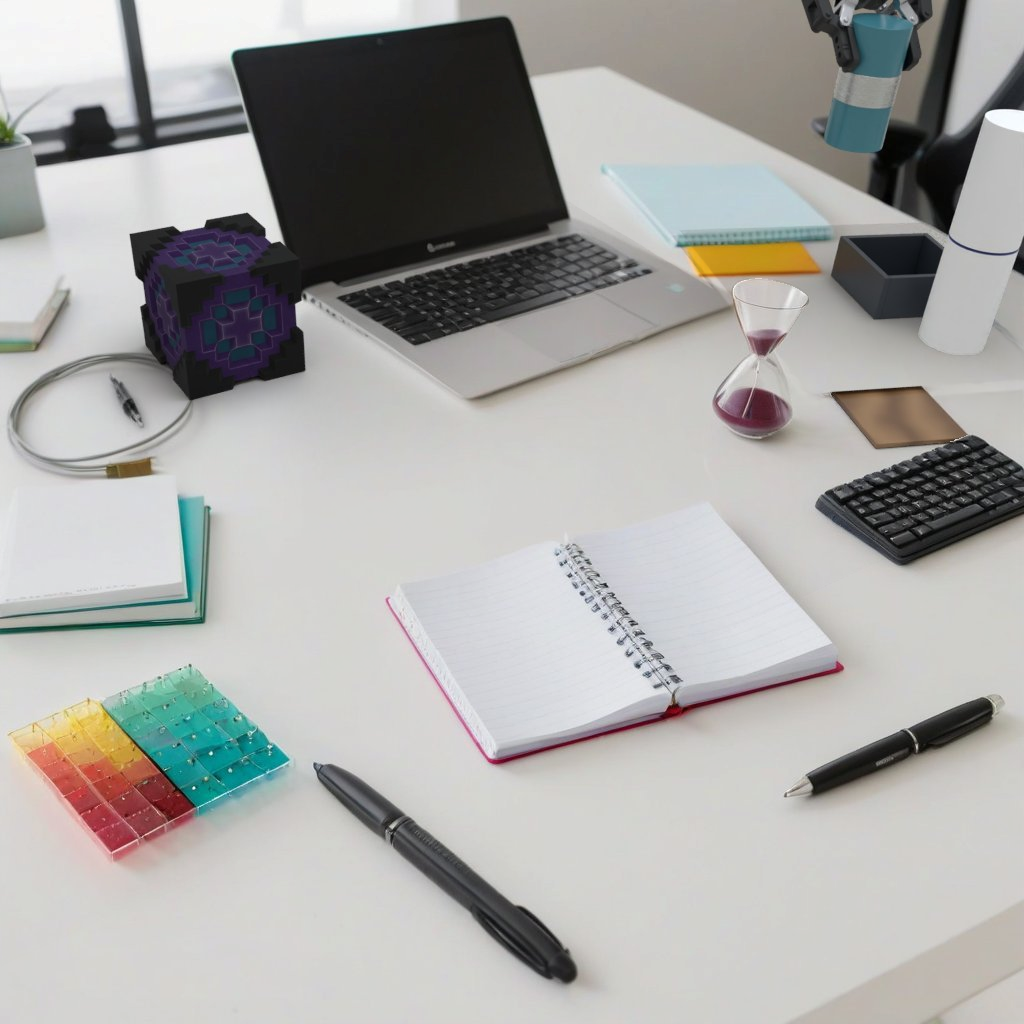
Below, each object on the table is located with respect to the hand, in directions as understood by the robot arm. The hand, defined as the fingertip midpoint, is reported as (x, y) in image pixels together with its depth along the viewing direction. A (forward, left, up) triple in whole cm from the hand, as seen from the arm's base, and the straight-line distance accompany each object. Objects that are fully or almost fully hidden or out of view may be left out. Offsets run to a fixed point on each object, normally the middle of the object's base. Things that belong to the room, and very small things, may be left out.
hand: (881, 67), depth 113 cm
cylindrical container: (-13, +7, -28) cm, 32 cm away
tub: (-12, -4, -28) cm, 31 cm away
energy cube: (+65, +1, -28) cm, 71 cm away
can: (0, -2, -8) cm, 8 cm away
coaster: (0, +20, -28) cm, 34 cm away
